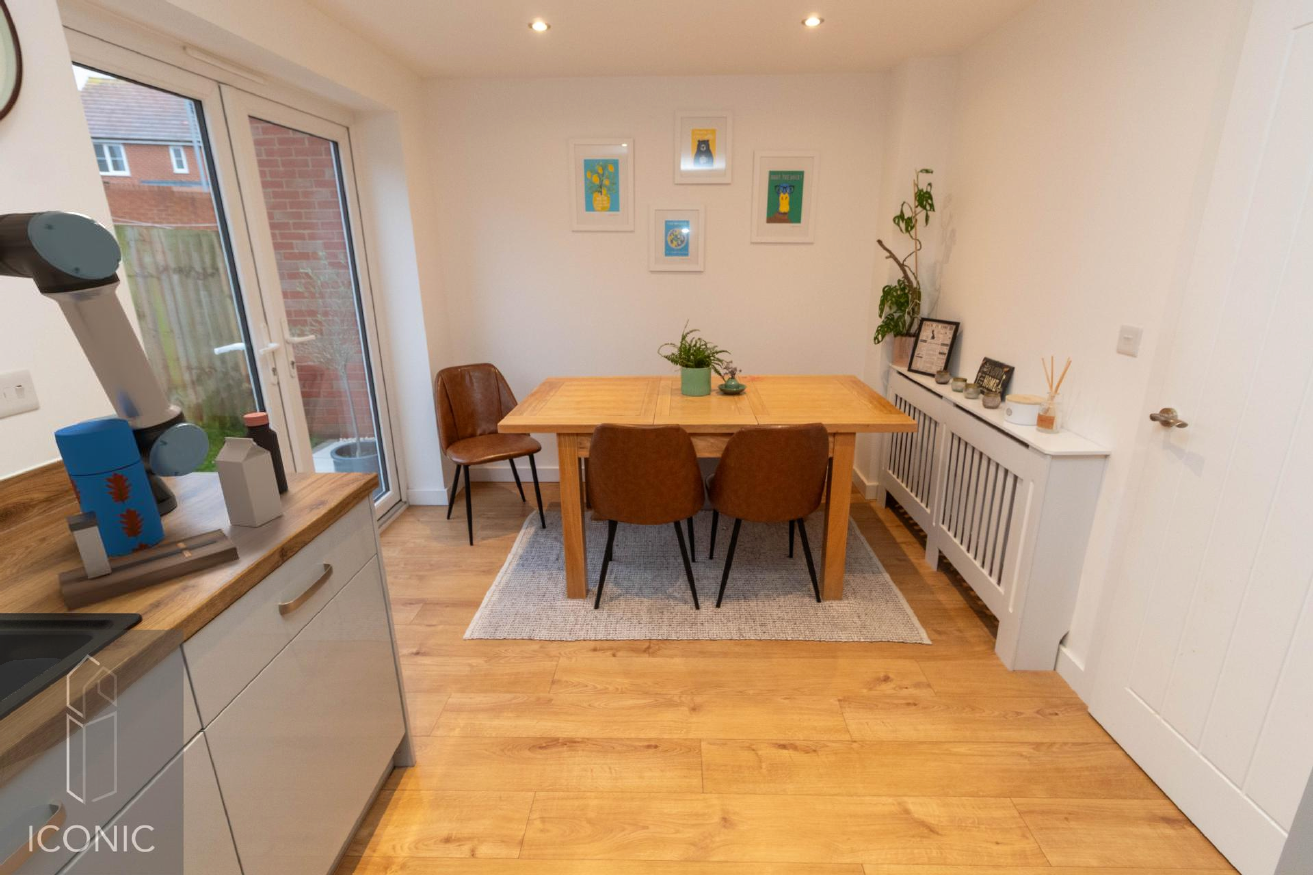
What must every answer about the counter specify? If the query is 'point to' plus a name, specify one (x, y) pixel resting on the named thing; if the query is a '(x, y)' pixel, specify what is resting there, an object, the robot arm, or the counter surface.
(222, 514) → the counter surface
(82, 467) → the thermos
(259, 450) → the milk carton
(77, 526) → the fader handle
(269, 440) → the bottle
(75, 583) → the console
